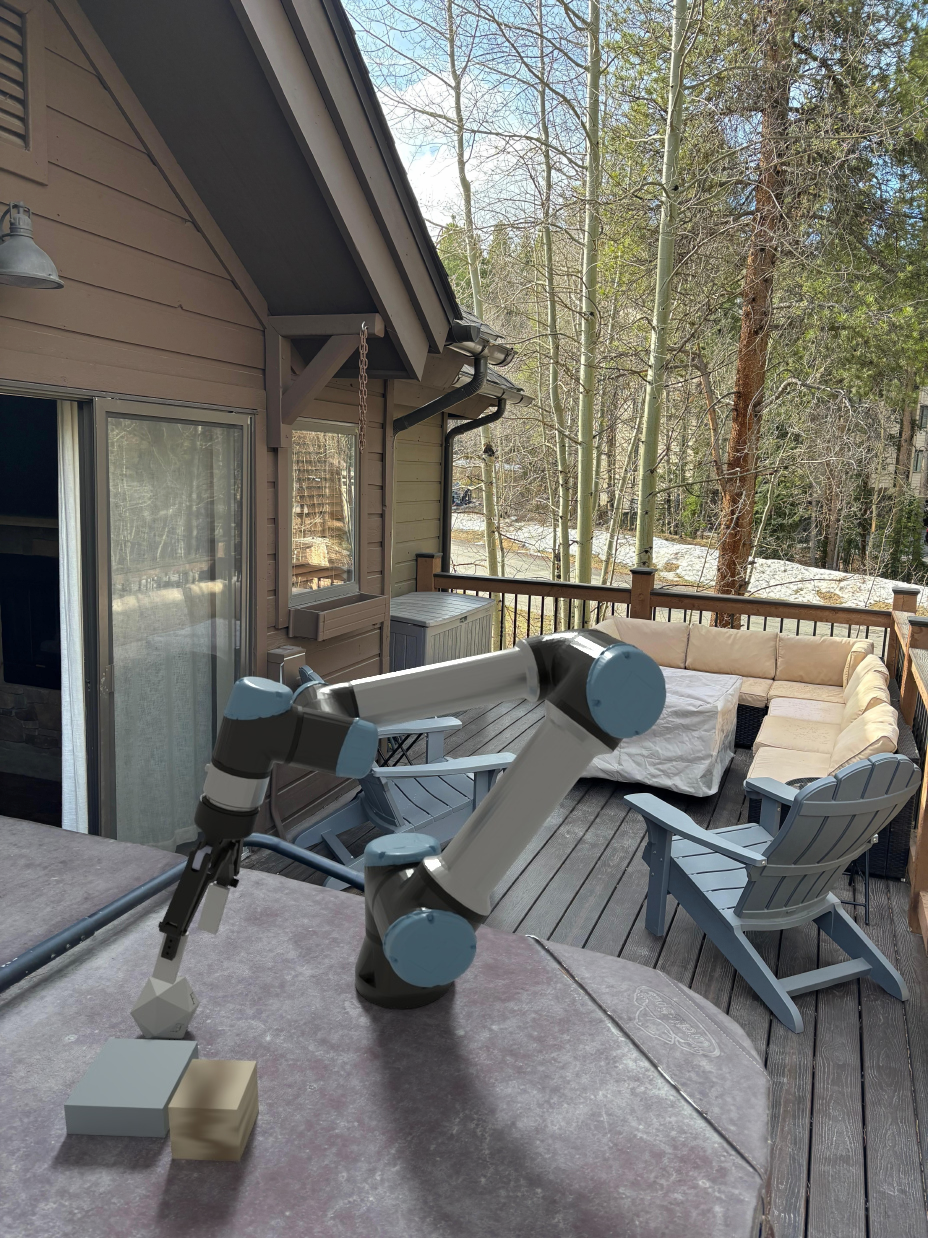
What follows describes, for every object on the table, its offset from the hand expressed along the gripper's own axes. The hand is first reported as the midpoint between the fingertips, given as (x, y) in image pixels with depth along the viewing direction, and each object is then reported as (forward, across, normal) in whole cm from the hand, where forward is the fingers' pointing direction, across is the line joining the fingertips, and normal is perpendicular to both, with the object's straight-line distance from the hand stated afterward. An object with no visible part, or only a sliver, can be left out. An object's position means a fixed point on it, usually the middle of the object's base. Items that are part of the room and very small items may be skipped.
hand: (186, 954), depth 111 cm
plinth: (+19, +3, 0) cm, 19 cm away
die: (+18, -10, -2) cm, 21 cm away
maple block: (+16, +7, +12) cm, 21 cm away
